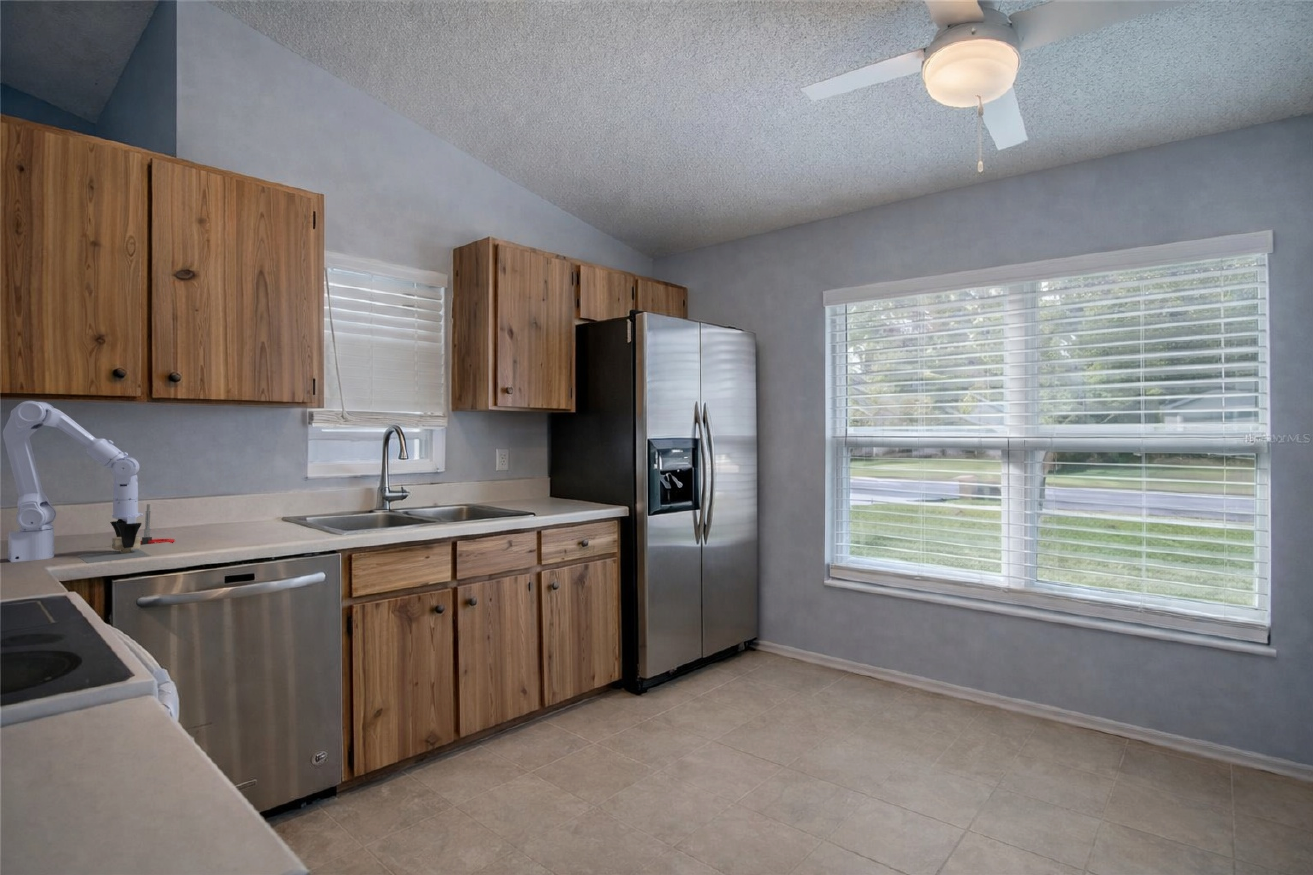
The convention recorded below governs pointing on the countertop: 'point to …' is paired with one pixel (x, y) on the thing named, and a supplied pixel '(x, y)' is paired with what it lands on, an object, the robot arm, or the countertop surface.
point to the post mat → (113, 555)
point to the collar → (119, 546)
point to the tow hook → (147, 538)
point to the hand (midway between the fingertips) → (126, 546)
